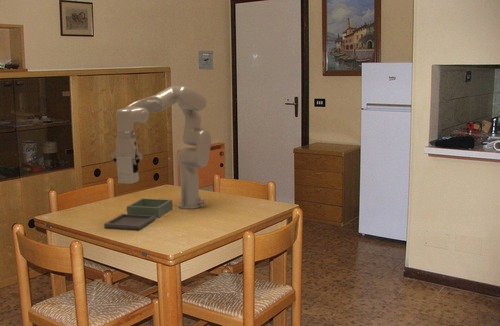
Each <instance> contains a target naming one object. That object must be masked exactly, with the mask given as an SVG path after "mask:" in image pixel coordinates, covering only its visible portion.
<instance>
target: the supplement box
mask: <svg viewBox="0 0 500 326" xmlns="http://www.w3.org/2000/svg"><path fill="white" fill-rule="evenodd" d="M115 157H116V156H115ZM136 157H137V156H136ZM116 159H117V164H116V170H117V181H118V182H117V183H118V184H133V183H136V182H139V180H140V179H139V171H138V172H136V173H134V172H133V165H134V163H133V159H132V157H116Z"/></svg>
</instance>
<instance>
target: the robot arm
mask: <svg viewBox="0 0 500 326" xmlns="http://www.w3.org/2000/svg"><path fill="white" fill-rule="evenodd" d="M174 104H178V107H179V108H180V109H181V111H182V113H183V116H184V126H183V135H182V141H183V144H185V145H187V146H192V147H184V148H181V149H180V150H179V151H178V154H177V161H178V162H177V163H178V166H179V175H180V203H179V204H178V208H180V209H183V210H185V209H186V210H190V209H191V210H192V209H193V210H194V209H200V208H201V207H202V206H203V205H206V204H207V200H206V199H202V197H201V196H200V193H199V191H200V187H199V185H200V184H199V172H198V169H197V168H204V167H206V166H207V165H208V163H209V161H210V154H211V145H212V135H211V132H210V131H209V130H208V129H206V128H201V124H202V117H201V114H200V111H203V110H204V109H205V108H206V107H207V99H206V96H204V94H202V93H200V92H198V91H197V90H195V89H193V88H191V87H189V86H185V85H170V86H169V87H167V88H165V89H163V90H161V91H160V92H158V93H156V94H154V95H151V96H148V97H145V98H141V99H140V100H137V101H134V102H132V103H131V104H128V105H126V107H123V108H120V109H117V110H116V111H115V118H116V119H115V120H116V132H117V138H116V140H115V149H114V152H112V153H111V154H110V158H112V161H114V163H115V165H117V159H116V157H132V159H133V163H134V165H133V172H134V173H136V172H138V173H139V163H140V162H141V161H142V159H143V158H144V155H143V154H142V153H140V152H139V147H138V142H137V138H136V136H137V133H136V132H134V124H144V123H146V122H147V121H148V120H149V118H150V114H151V113H152V114H153V113H155V114H156V113H159V112H162V111H165V110H166V109H168V108H169V107H171V106H172V105H174ZM193 147H196V148H193ZM136 156H137V157H136Z"/></svg>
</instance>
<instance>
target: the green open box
mask: <svg viewBox="0 0 500 326" xmlns="http://www.w3.org/2000/svg"><path fill="white" fill-rule="evenodd" d="M173 209H174V208H173V199H167V198H166V199H165V198H161V199H160V198H145V197H144V198H140V199H138V200H136V201H134V202H132V203H130V204H129V205H127V206H126V214H133V215H150V216H156V218H157V219H158V218H161V217H162V216H164V215H165V214H167V213H168V212H170V211H172V210H173Z"/></svg>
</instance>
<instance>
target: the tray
mask: <svg viewBox="0 0 500 326" xmlns="http://www.w3.org/2000/svg"><path fill="white" fill-rule="evenodd" d="M156 220H157V219H156V216H150V215H133V214H127V213H121V214H119V215H118V216H115V217H114V218H112V219H111V220H109V221H107V222H105V223H103V225H104V226H103V228H104V229H109V230H125V231H137V232H139V231H141V230H143V229H144V228H146V227H147V226H149V225H150V224H152V223H154V222H155V221H156Z"/></svg>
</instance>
